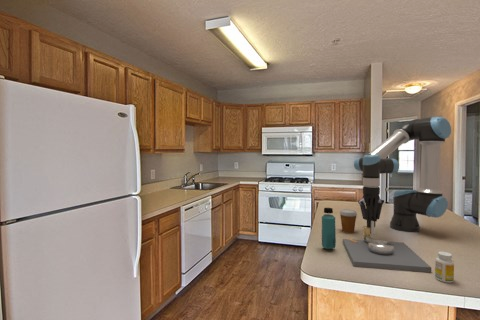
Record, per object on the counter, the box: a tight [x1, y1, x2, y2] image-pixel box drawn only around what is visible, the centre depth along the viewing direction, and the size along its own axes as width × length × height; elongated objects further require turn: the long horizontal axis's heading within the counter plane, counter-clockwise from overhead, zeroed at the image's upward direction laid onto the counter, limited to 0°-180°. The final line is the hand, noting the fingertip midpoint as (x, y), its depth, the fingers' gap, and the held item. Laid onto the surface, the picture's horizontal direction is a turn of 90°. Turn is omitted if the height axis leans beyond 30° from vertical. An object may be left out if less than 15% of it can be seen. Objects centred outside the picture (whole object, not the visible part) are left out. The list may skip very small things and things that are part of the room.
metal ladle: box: [362, 225, 394, 255], centre depth 122 cm, size 19×10×7 cm, turn 2°
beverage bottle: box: [321, 207, 337, 250], centre depth 125 cm, size 6×7×20 cm
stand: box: [342, 238, 432, 273], centre depth 118 cm, size 28×28×2 cm
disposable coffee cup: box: [339, 208, 358, 234], centre depth 152 cm, size 10×10×12 cm
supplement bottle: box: [434, 251, 455, 284], centre depth 95 cm, size 5×5×10 cm
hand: (371, 233), depth 130 cm, fingers closed
